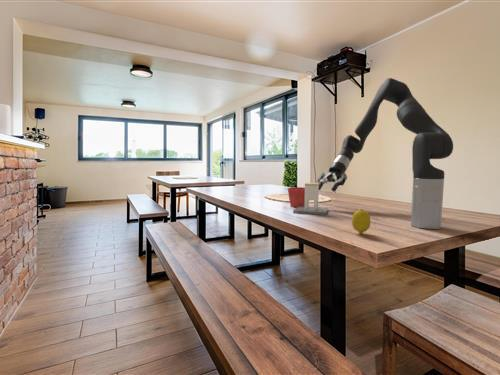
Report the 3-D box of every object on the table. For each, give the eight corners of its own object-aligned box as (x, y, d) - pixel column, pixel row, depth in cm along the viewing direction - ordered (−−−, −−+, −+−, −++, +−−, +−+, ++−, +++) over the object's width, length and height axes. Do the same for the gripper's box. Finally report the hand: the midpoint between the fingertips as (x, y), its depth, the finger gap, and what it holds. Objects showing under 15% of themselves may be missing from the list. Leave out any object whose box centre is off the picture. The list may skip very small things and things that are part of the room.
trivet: (324, 215, 120) (325, 212, 120) (293, 213, 125) (293, 210, 125) (327, 210, 133) (327, 207, 133) (299, 208, 138) (299, 206, 138)
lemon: (348, 231, 91) (349, 207, 90) (364, 231, 91) (365, 207, 91) (356, 236, 85) (357, 210, 85) (373, 235, 86) (374, 210, 85)
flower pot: (284, 205, 149) (284, 187, 148) (302, 204, 152) (302, 186, 152) (293, 208, 139) (293, 189, 138) (312, 207, 142) (312, 188, 141)
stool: (316, 210, 126) (317, 184, 125) (304, 209, 128) (304, 183, 127) (318, 208, 131) (318, 183, 130) (306, 207, 133) (306, 182, 132)
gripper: (325, 160, 145) (310, 183, 139) (349, 160, 134) (334, 185, 128) (330, 170, 149) (316, 193, 142) (355, 171, 137) (341, 196, 131)
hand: (325, 189), depth 135 cm, fingers open, 8 cm apart
